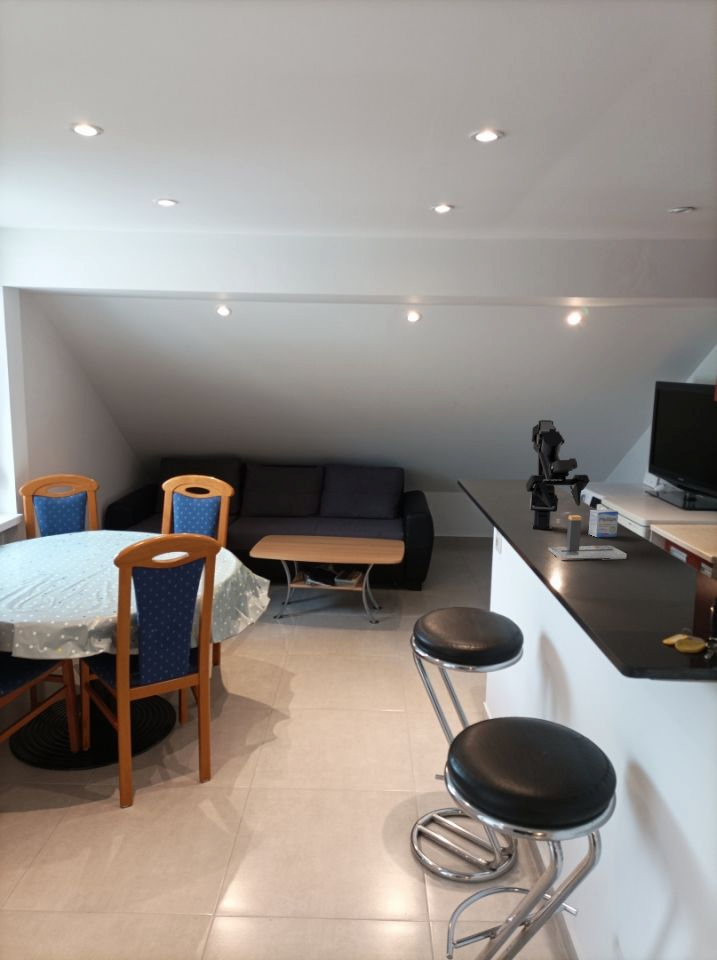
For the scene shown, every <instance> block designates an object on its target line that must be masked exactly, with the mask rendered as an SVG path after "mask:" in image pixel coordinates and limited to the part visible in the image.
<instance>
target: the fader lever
mask: <svg viewBox="0 0 717 960" xmlns="http://www.w3.org/2000/svg"><path fill="white" fill-rule="evenodd" d="M567 520H568V522H567V534H566V546H565V547H566V549H568V550H569V551H570V550H579V546H580V544H581V543H580V540H581V530H582V529H581V527H582V516H581V515H579V514H576V515H575V514H574V515H568V519H567Z"/></svg>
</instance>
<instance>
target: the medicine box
mask: <svg viewBox="0 0 717 960" xmlns="http://www.w3.org/2000/svg"><path fill="white" fill-rule="evenodd" d="M618 522H619V511H618V510H614V509H610V508H609V509H590V510H589V522H588V523H589V524H588V527H589V528H588V535H589V534H590V535H592V536H591V537H593V536H595V537H606V538H616V537H617V532H618V524H619V523H618ZM590 535H589V536H590ZM595 537H594V538H595Z"/></svg>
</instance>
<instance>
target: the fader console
mask: <svg viewBox="0 0 717 960" xmlns="http://www.w3.org/2000/svg"><path fill="white" fill-rule="evenodd" d="M566 547H567V546H548V550H550V551H551V552H553V553H554V554H556V555H558V556H559V557H561V558H610V559H609V560H627V554H628V553H625V552H624V551H622V550H620V549H618V548H616V546H613V545H586V546H585V545H581V546H580V545H579V550H570V551H569V550H568V549H566Z"/></svg>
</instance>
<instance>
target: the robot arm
mask: <svg viewBox="0 0 717 960" xmlns="http://www.w3.org/2000/svg"><path fill="white" fill-rule="evenodd" d="M560 432H561V431H559V430H557V428H556V426H555V425H554V421H553V420H552V419H551V420H550V419H540V420H538V422H537V424H536V425H534V426H533V427H532V430H531V438H530V439H531V440H530V442H531V443H532V448H533V450H534V451H535V452H536V454H537V474H536V475H535V474H532V475H530V476H529V478H528V480H527V482H526V483H525V484H526V485H525V487H526V491H527V492H528V493H529V492H530V493H531V495H530V501H529V509H530V511H531V512H532V511H533V522H531V525H530V526H531V528H532V530H548V529H549V531H550V530H551V531H552V530H553V528H552V525H551V517H552V516H551V515H552V512H554V513H555V512H557V511H558V505H559V497H558V495H557V494H556V491H555V490H556V489H555V487H559V486H560V487H566V486H567V487H568V486H569V488H570V490H571V491H570V493H571V496H572V498H573V501H574V503H575V505H576V506H577V507H580V505H581V498H582V497H581V496H582V491H583V490H584V489H586V487H587V486H588V484H589V483H590V482H591V480H590V477H589V476H588V474H585V473H578V474H577V473H575V474H574V475H573V476H572V478H567V477H569V475H570V472H572V471H573V470H576V469H577V468H578V462H577V459H576V458H574V457H573V458H572V457H570V458H569V459H561V458H560V456H559V454H560V451H561V447H562V446H563V445H564V444H565V439H564V437H563V435H562V434H561V433H560Z"/></svg>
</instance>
